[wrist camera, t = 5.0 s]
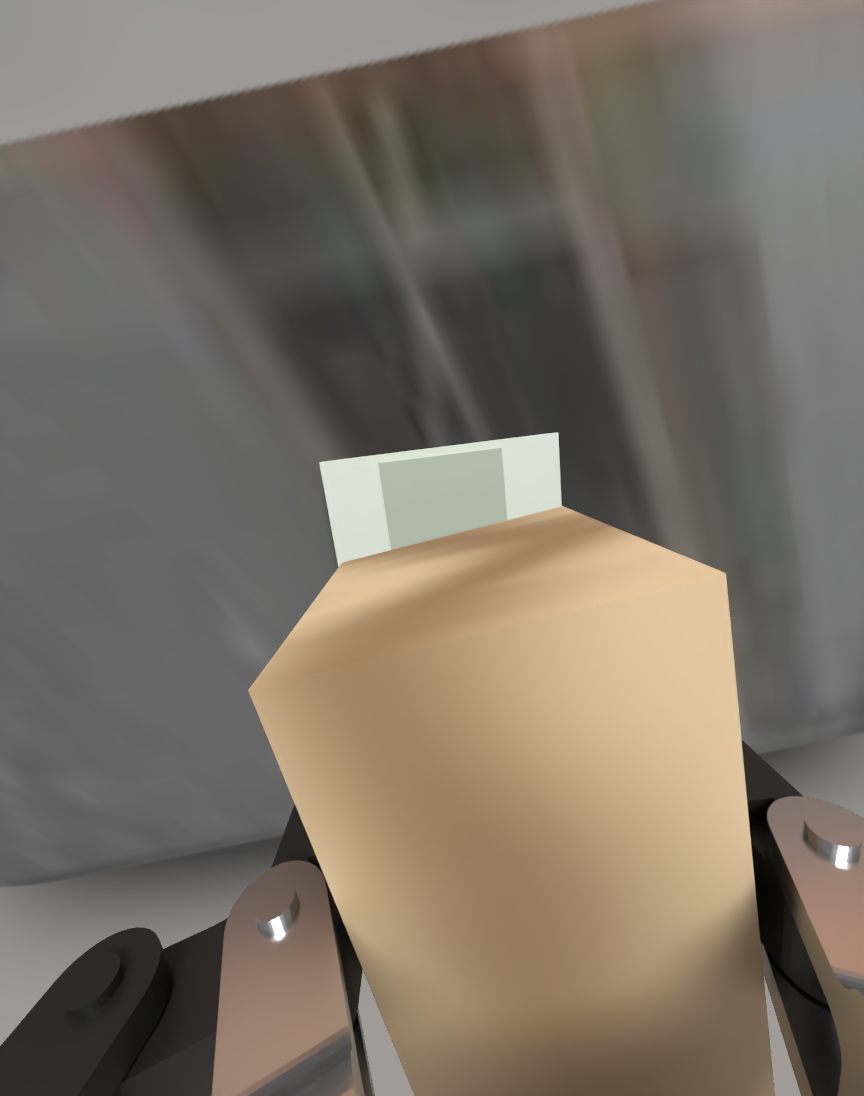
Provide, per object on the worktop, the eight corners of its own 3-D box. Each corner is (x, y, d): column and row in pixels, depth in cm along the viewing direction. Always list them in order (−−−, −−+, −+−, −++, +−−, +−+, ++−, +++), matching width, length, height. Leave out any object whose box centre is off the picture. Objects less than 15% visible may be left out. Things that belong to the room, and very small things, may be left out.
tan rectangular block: (562, 506, 9) (725, 573, 4) (622, 829, 11) (778, 1131, 6) (342, 562, 9) (248, 690, 4) (441, 869, 11) (453, 1191, 6)
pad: (545, 433, 22) (558, 432, 20) (555, 613, 25) (567, 628, 23) (327, 461, 22) (318, 462, 20) (359, 638, 25) (354, 655, 23)
